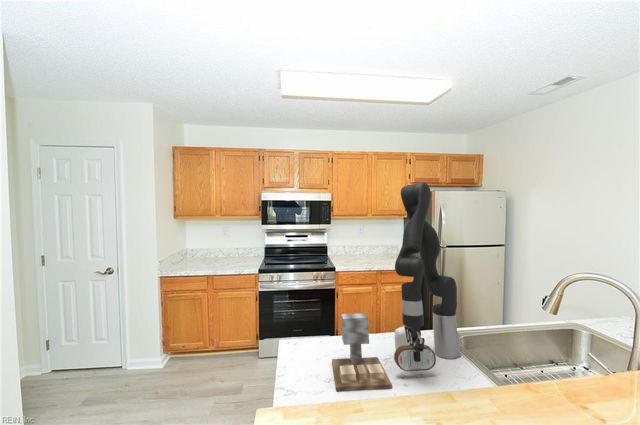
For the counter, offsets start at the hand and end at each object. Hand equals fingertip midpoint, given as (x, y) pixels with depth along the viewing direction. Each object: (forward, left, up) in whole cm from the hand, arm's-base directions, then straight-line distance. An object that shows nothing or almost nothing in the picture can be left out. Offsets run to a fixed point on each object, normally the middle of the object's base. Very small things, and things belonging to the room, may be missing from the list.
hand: (415, 358), depth 100 cm
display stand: (+21, -3, -6) cm, 22 cm away
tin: (0, +1, -4) cm, 4 cm away
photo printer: (-2, -16, -7) cm, 18 cm away
